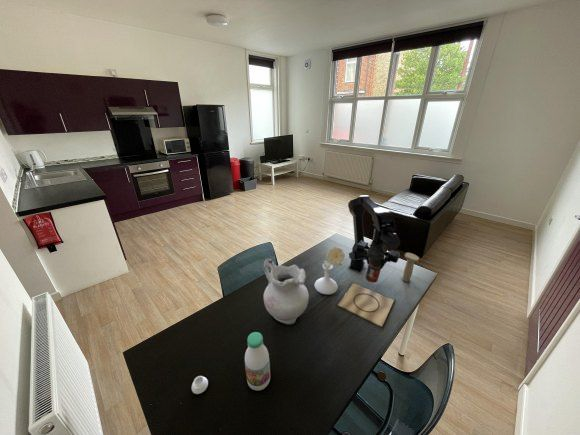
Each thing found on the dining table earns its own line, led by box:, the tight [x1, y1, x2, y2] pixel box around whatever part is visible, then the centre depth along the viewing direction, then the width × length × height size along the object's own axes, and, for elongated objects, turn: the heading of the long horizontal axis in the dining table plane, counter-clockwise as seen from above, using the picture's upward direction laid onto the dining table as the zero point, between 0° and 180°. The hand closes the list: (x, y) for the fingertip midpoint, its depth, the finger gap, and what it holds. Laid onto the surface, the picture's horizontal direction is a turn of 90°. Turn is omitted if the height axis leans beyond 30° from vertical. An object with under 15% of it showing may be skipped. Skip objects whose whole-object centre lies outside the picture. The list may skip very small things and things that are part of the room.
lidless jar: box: [191, 375, 209, 395], centre depth 77 cm, size 5×3×5 cm
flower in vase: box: [314, 246, 345, 295], centre depth 113 cm, size 13×11×25 cm
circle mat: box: [337, 282, 395, 328], centre depth 110 cm, size 20×18×1 cm
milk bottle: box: [244, 331, 271, 391], centre depth 76 cm, size 8×8×20 cm
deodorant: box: [364, 256, 385, 283], centre depth 114 cm, size 6×6×15 cm
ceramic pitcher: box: [263, 257, 310, 325], centre depth 101 cm, size 22×20×25 cm
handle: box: [402, 252, 420, 283], centre depth 121 cm, size 5×6×15 cm
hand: (374, 266), depth 114 cm, fingers closed on deodorant, 6 cm apart
